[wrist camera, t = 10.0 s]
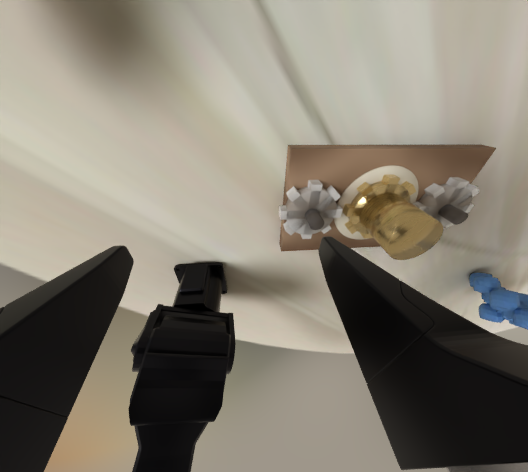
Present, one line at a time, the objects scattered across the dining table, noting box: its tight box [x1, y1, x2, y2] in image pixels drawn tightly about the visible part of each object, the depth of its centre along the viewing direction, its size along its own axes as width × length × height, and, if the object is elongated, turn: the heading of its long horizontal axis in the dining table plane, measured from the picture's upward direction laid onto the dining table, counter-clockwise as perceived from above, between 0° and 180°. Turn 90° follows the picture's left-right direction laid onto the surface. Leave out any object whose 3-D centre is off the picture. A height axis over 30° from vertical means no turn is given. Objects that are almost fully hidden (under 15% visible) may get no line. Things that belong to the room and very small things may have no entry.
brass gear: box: [342, 174, 443, 260], centre depth 18 cm, size 7×7×6 cm
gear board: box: [279, 145, 496, 251], centre depth 20 cm, size 12×21×4 cm, turn 89°
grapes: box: [469, 273, 528, 330], centre depth 29 cm, size 12×7×12 cm, turn 57°
